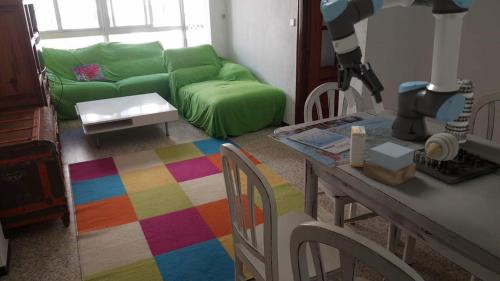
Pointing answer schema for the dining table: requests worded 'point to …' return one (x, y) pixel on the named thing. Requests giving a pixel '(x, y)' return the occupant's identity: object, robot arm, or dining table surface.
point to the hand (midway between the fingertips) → (365, 108)
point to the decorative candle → (461, 123)
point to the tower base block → (389, 173)
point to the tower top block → (391, 156)
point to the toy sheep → (442, 146)
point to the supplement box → (357, 146)
